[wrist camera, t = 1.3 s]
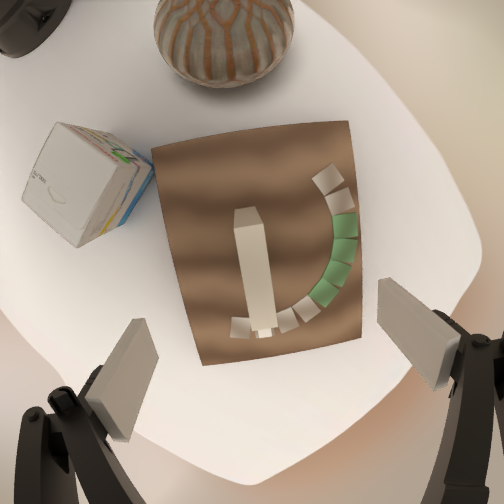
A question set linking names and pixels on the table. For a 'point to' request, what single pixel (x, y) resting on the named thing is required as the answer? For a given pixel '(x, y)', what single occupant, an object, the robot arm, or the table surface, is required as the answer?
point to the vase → (223, 38)
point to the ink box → (85, 182)
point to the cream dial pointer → (255, 270)
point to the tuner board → (276, 233)
